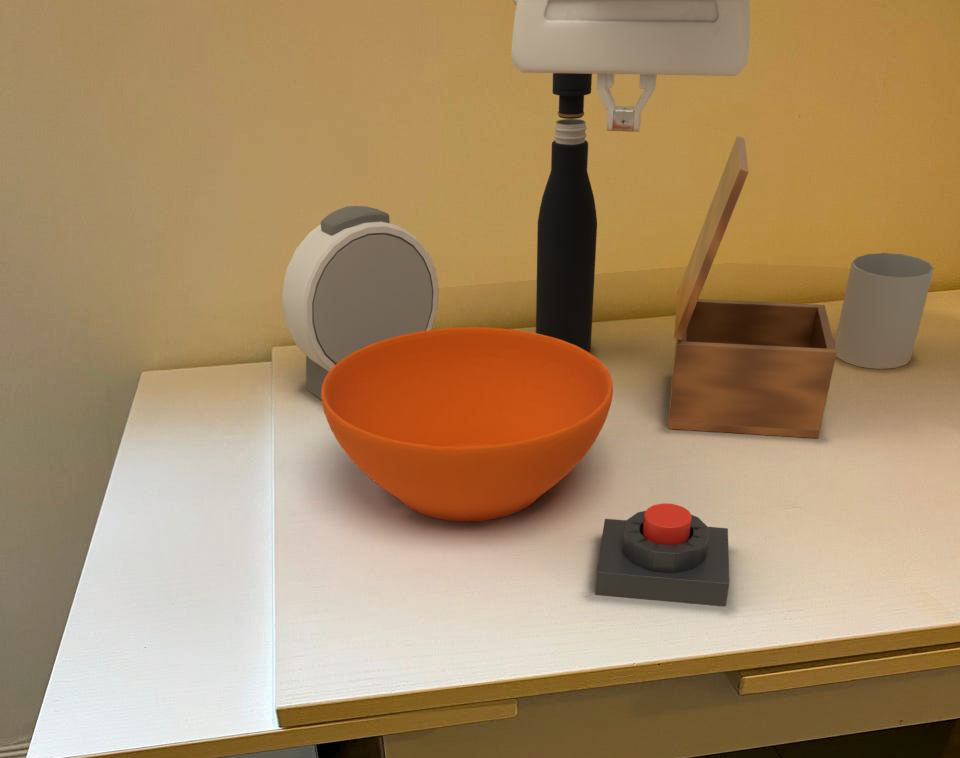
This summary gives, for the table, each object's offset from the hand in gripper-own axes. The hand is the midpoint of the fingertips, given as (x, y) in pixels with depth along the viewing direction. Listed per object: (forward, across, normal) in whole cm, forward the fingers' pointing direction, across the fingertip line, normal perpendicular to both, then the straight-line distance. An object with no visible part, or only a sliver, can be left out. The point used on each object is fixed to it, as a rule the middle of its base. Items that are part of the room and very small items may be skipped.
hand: (623, 130), depth 89 cm
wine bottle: (+26, -6, +12) cm, 29 cm away
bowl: (+26, -11, -20) cm, 35 cm away
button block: (+26, +7, -32) cm, 42 cm away
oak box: (+26, +14, 0) cm, 29 cm away
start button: (+22, +7, -32) cm, 40 cm away
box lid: (+9, +9, 0) cm, 13 cm away
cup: (+26, +29, +16) cm, 42 cm away
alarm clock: (+26, -26, 0) cm, 37 cm away
